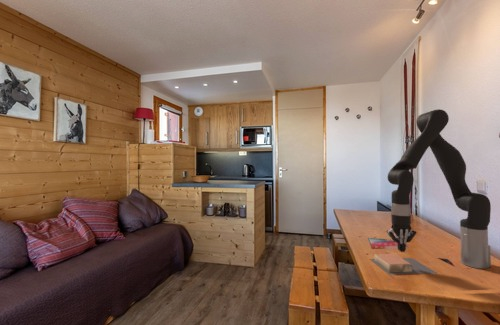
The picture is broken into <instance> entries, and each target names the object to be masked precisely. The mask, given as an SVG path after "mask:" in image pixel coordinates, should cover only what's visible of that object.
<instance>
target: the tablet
mask: <svg viewBox="0 0 500 325" xmlns="http://www.w3.org/2000/svg"><path fill="white" fill-rule="evenodd" d="M367 238H368V242H369V245H370V247H371V250H385V249H387V250H388V249H398V243H397V242H395V241H393V240H392V239H387V238H375V237H367ZM406 249H409V246H408V245H407V244H406Z"/></svg>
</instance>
